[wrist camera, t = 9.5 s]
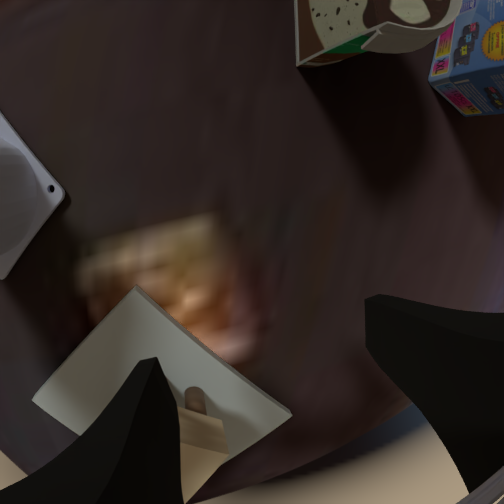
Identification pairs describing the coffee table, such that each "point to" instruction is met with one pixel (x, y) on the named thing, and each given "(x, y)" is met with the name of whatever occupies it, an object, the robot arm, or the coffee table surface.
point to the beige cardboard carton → (199, 442)
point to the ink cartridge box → (472, 59)
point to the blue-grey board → (173, 365)
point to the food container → (367, 27)
